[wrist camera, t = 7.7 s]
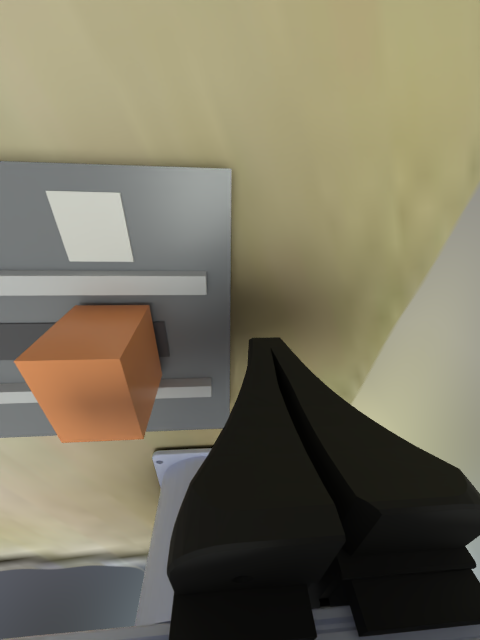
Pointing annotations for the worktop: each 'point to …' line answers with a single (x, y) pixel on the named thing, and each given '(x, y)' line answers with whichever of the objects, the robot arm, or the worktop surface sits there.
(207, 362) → the panel
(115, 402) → the knob
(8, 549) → the worktop surface
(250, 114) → the worktop surface
